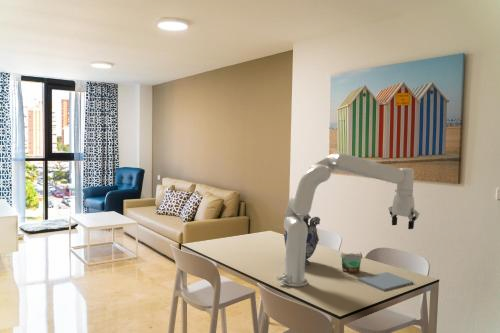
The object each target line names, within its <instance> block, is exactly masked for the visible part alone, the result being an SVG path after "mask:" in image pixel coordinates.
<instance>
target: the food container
mask: <svg viewBox="0 0 500 333" xmlns="http://www.w3.org/2000/svg"><path fill="white" fill-rule="evenodd" d="M340 257H341V269H342V270H341V272H343V273H346V274H351V275H352V274H353V275H354V274H358V273H360V269H361V262H362V259H363V253H362V252H361V251H360V252H359V253H348V254H346V253H343V252H341V254H340Z"/></svg>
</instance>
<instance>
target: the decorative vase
mask: <svg viewBox="0 0 500 333" xmlns="http://www.w3.org/2000/svg"><path fill="white" fill-rule="evenodd" d="M303 221H304V222H305V223H306V225H307V228H308V234H307V240H306V257H305V266H307V265H309V264H310V261H309V260H308V259H310V258H311V257H312V256H313V255H314V253H315V250H316V249H317V246H318V244H319V240H320V239H319V235H318V228H317V225H320V224H321V223H320V221H321V219H320V217H319V216H314V217H311V216H310V214H308V215H306V216H304V218H303ZM287 234H288V233H287V231H286V230H285V231H284V233H283V237H284V245H285V247H286V242H287Z"/></svg>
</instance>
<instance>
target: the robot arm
mask: <svg viewBox="0 0 500 333" xmlns="http://www.w3.org/2000/svg"><path fill="white" fill-rule="evenodd" d="M336 171H340V172H345V173H347V174H353V175H357V176H360V177H363V178H368V179H369V178H370V179H374V180H375V179H376V180H380V181H384V182H387V183H392V184H396V189H395V190H394V191H395V194H394V197H393V200H392V205H391V206H389V207H388V211H389V215H390V217H391V225H392V226H397V225H398V217H397V216H401V217H405V218H408V220H409V221H408V225H407V226H408V228H407V229H408V230H413V229H414V227H415V221H417V219H418V218H419V216H420V213H419V211H418V210H417V209H415V198H414V196H413V194H414V182H415V181H414V177H415V171H414V169H413V168H411V167H400V168H399V167H395V166H391V165H388V164H385V163H379V162H376V161H373V160H370V159H366V158H363V157H358V156H355V155H351V154H346V153H343V152H333V153H331V154H330V155H328V156H326V157H324V158H322V159H320V160H319V161H318V160H317V161H316V162H315V163H313V164H312V165H311V166H310V167H309V169H308V171H306V172H305V173H304V174H303V175H302V177H301V178H300V180H299V182H298V186H297V189H296V193H295V194H294V195H293V196H292V195H291V197H290V199H289V201H288V203H287V207H286V211H285V215H284V219H283V228H284V230H285V231H287V233H288V234H287V242H286V246H285V265H284V266H285V270H284V272H283V274H282V275H281V276H277V277H276V281H279V282H280V281H281V283H282V284H284V285H286V286H289V287H295V288H297V287H298V288H300V287H304V286H307V284H308V281H309V280H307V278H305V275H306V274H305V273H306V265H305V257H306V240H307V234H308V228H307V225H306V223H305V222H304V221H303V218H304V216H306V215H308V214H309V213H310V212H311V209H312V206H313V200H314V197H315V193H316V189H317V188H318V187H319V185H320V184H322V183H325V182H328V180H329V179H330V178H331V176H332V174H333V173H334V172H336ZM309 215H310V214H309Z"/></svg>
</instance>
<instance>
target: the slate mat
mask: <svg viewBox="0 0 500 333" xmlns="http://www.w3.org/2000/svg"><path fill="white" fill-rule="evenodd" d="M357 281H359V282H361V283H363V284H366V285H368V286H371V287H373V288H375V289H377V290H381V291H382V292H386V291H389V290H393V289H397V287H398V288H400V287H405V286H409V285H413V284H414V281H412V280H411V279H407V278H405V277H402V276H399V275H397V274H393V273H391V272H388V271H386V272H380V273H376V274H373V275H372V274H371V275H367V276H364V277H358V278H357ZM412 283H413V284H412ZM408 284H409V285H408ZM404 285H405V286H404Z"/></svg>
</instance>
